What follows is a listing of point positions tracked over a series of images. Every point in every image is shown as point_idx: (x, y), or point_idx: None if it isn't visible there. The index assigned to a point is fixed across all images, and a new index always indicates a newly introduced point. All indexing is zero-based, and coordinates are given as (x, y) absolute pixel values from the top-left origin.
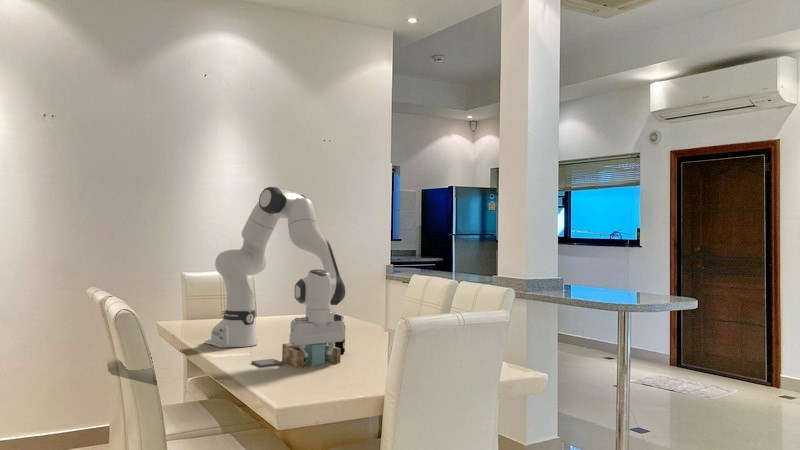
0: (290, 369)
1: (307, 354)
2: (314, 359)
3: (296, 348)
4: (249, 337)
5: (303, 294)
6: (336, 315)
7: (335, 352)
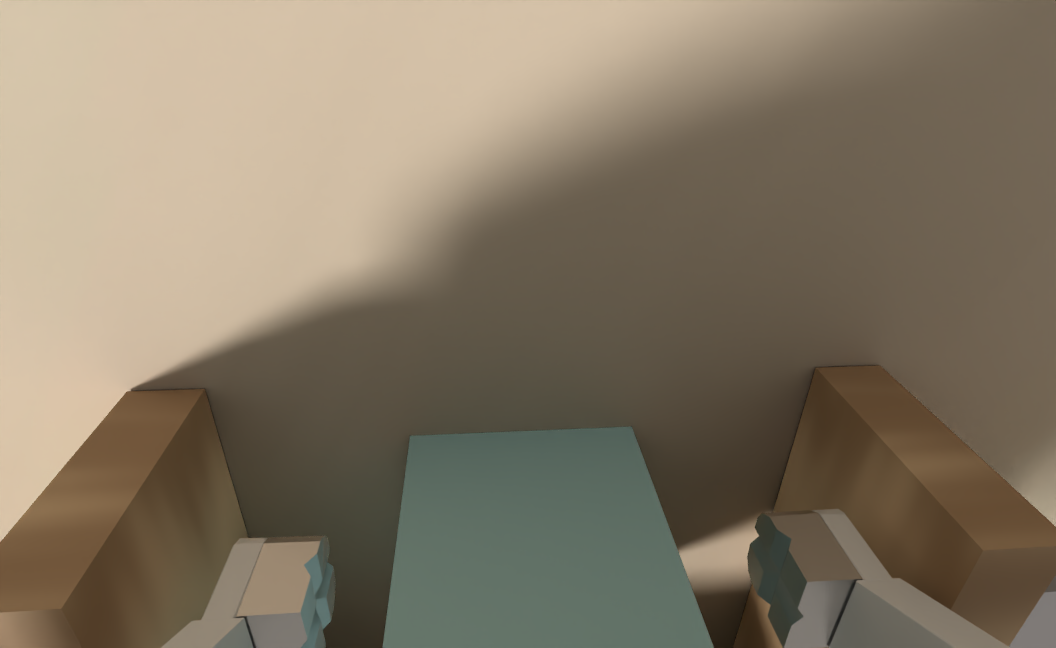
0: (1039, 334)
1: (803, 551)
2: (606, 489)
3: None
4: None
5: None
6: None
7: (134, 569)
